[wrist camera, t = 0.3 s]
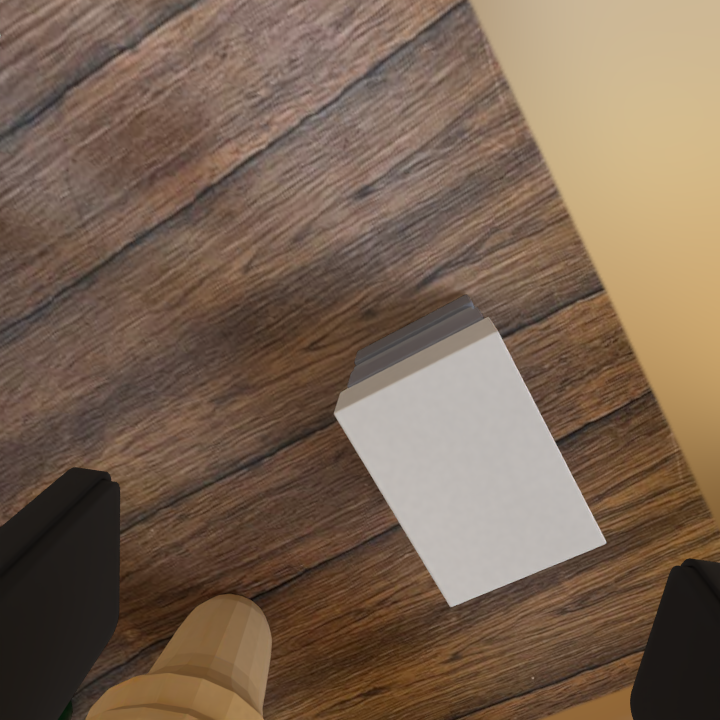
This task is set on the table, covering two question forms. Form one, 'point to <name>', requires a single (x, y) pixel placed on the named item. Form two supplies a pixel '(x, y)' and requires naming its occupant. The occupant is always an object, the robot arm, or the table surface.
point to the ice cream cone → (201, 669)
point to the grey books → (414, 338)
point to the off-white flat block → (468, 464)
